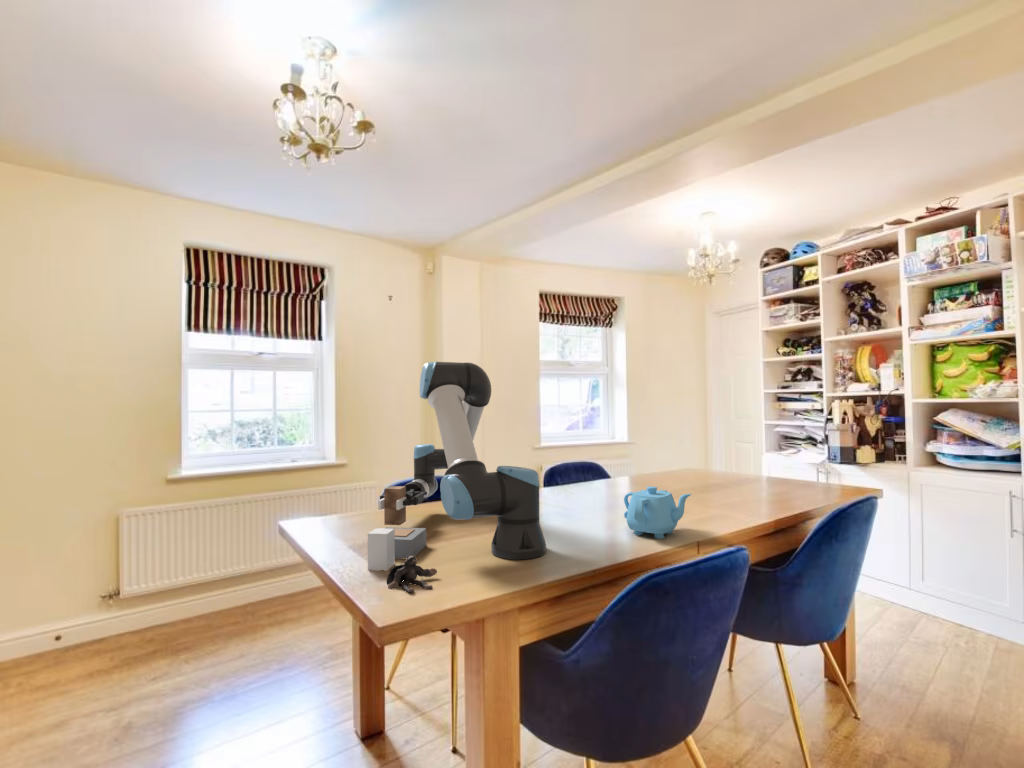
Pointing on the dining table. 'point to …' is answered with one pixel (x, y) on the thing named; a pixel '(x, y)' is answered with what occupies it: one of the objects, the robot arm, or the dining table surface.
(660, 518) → the teapot
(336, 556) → the dining table surface
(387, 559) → the white block
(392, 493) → the walnut block
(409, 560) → the stuffed animal
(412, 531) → the base block
